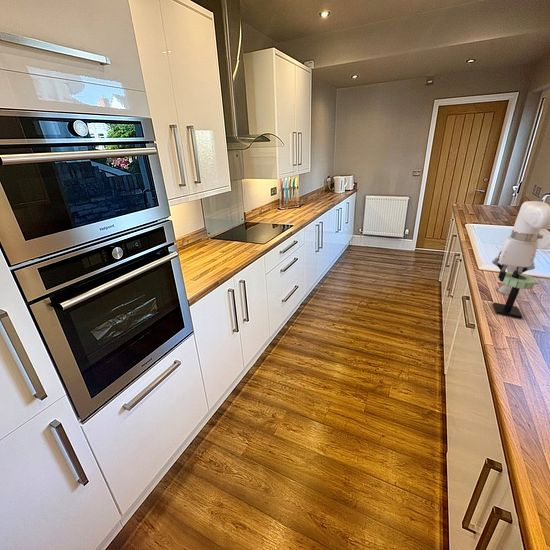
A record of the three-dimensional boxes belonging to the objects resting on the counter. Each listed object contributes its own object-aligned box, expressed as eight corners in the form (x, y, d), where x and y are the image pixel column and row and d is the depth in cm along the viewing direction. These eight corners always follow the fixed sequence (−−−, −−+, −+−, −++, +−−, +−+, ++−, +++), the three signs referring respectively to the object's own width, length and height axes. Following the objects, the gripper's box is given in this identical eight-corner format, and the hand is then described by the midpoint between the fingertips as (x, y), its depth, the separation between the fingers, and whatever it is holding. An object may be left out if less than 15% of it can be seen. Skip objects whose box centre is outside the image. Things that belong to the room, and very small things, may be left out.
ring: (529, 280, 114) (531, 274, 113) (536, 291, 106) (539, 284, 105) (499, 275, 118) (501, 270, 117) (504, 286, 110) (506, 279, 109)
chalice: (495, 292, 132) (508, 255, 124) (495, 286, 137) (508, 250, 129) (515, 296, 128) (530, 258, 120) (514, 290, 133) (529, 254, 125)
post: (516, 308, 119) (527, 280, 114) (521, 318, 113) (534, 289, 107) (493, 304, 122) (503, 276, 117) (496, 313, 116) (507, 285, 110)
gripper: (548, 236, 105) (529, 281, 113) (494, 230, 112) (480, 273, 120) (556, 242, 99) (535, 289, 107) (498, 236, 106) (483, 281, 113)
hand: (506, 280), depth 113 cm, fingers closed on ring, 3 cm apart
